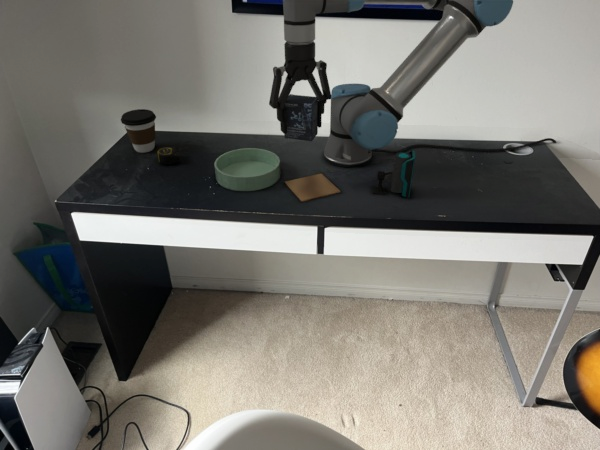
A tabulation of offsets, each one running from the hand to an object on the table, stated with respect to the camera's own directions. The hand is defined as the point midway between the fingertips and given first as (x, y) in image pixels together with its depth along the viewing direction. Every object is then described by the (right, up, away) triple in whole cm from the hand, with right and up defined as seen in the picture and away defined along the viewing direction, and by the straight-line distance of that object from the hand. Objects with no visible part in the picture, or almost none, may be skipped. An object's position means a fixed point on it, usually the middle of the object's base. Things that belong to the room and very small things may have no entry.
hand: (301, 128), depth 127 cm
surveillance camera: (+25, -17, +6) cm, 31 cm away
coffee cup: (-52, -1, +32) cm, 61 cm away
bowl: (-16, -11, +15) cm, 24 cm away
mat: (+3, -15, +9) cm, 18 cm away
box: (0, -2, +1) cm, 2 cm away
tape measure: (-41, -6, +24) cm, 48 cm away
